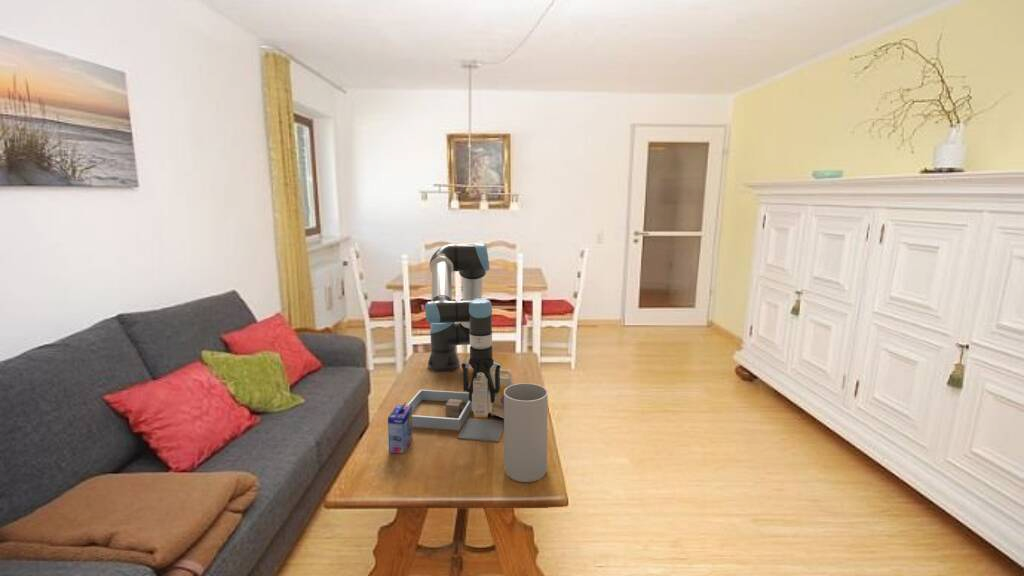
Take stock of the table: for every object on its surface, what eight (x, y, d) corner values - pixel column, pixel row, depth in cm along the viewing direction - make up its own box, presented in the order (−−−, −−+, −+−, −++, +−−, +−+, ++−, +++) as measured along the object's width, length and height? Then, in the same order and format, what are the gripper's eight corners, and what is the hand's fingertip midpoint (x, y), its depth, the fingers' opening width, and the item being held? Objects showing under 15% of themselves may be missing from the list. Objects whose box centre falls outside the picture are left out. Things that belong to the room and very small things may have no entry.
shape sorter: (529, 417, 170) (529, 370, 167) (509, 426, 162) (509, 378, 160) (491, 402, 183) (491, 359, 181) (471, 410, 176) (471, 365, 173)
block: (449, 411, 176) (449, 399, 175) (462, 412, 175) (462, 399, 174) (445, 417, 171) (445, 404, 170) (459, 418, 170) (458, 405, 169)
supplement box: (477, 406, 164) (476, 371, 162) (490, 407, 164) (490, 372, 161) (473, 417, 156) (472, 380, 154) (487, 418, 155) (486, 381, 153)
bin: (420, 398, 187) (420, 389, 186) (475, 402, 183) (475, 392, 182) (398, 425, 165) (397, 415, 164) (460, 430, 161) (459, 419, 160)
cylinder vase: (533, 488, 129) (534, 405, 124) (496, 474, 135) (495, 394, 130) (553, 467, 139) (555, 388, 134) (518, 455, 146) (518, 380, 141)
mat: (468, 419, 169) (467, 418, 169) (505, 422, 167) (505, 420, 167) (457, 438, 156) (457, 437, 156) (498, 442, 153) (498, 440, 153)
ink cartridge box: (405, 454, 146) (403, 411, 144) (388, 453, 147) (385, 411, 144) (413, 438, 156) (411, 398, 153) (397, 437, 156) (395, 397, 154)
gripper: (451, 347, 153) (453, 413, 157) (505, 350, 150) (506, 417, 155) (458, 341, 160) (459, 404, 165) (509, 343, 158) (509, 407, 162)
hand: (482, 410), depth 160 cm, fingers closed on supplement box, 5 cm apart
